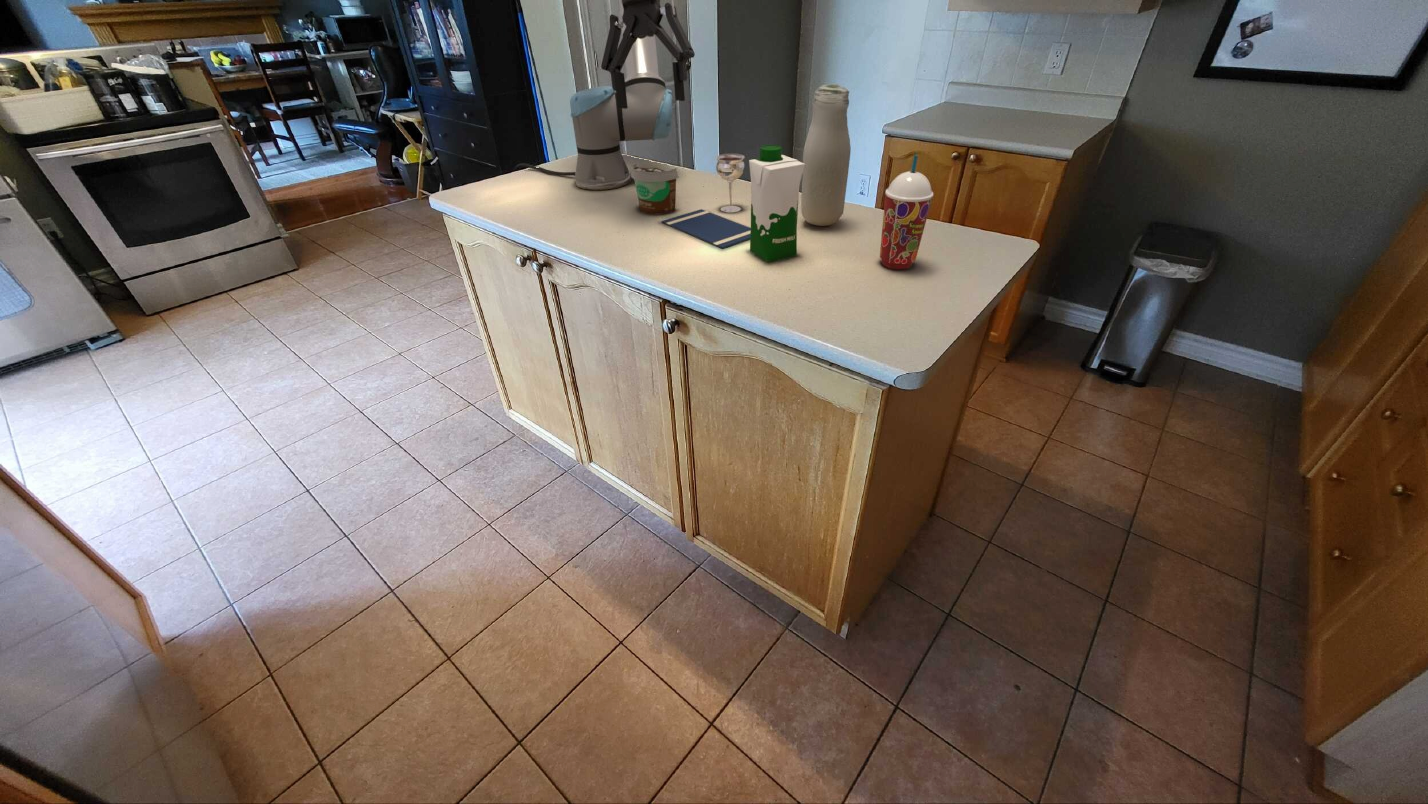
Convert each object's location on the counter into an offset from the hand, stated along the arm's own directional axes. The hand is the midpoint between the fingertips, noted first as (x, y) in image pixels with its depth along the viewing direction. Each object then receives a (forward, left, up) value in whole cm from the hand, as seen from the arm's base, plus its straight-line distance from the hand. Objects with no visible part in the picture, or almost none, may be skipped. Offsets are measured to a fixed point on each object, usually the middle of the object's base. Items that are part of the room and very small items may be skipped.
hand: (650, 104), depth 117 cm
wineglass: (+3, +19, -25) cm, 32 cm away
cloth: (+10, +7, -25) cm, 28 cm away
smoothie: (+50, +21, -25) cm, 60 cm away
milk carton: (+30, +7, -25) cm, 40 cm away
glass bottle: (+25, +27, -25) cm, 45 cm away
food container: (-9, +4, -25) cm, 27 cm away
